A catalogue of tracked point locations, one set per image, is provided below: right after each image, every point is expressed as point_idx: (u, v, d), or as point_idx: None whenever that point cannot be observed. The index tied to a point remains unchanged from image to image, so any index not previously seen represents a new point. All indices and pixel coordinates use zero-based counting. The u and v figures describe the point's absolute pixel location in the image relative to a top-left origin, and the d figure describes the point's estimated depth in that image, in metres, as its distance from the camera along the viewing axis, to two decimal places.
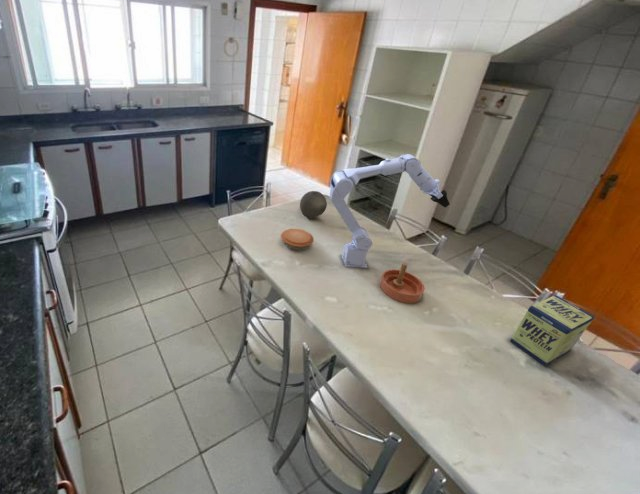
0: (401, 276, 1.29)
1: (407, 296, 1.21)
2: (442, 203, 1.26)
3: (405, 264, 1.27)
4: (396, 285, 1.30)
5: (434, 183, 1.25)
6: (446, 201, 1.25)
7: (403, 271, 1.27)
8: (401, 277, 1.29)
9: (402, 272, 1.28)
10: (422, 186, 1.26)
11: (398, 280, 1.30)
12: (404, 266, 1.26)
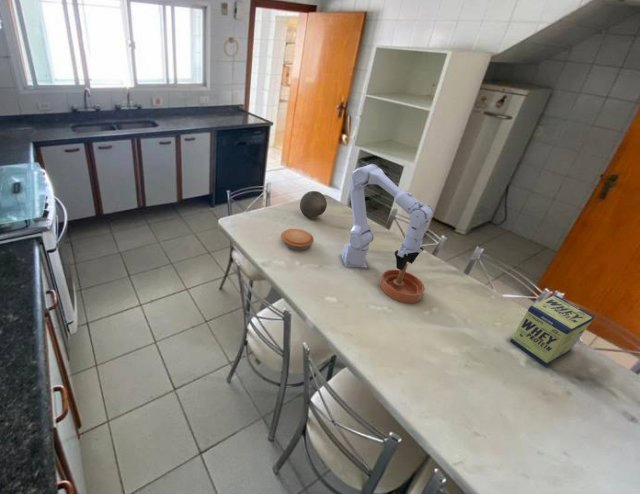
0: (401, 276, 1.29)
1: (407, 296, 1.21)
2: (398, 263, 1.24)
3: None
4: (396, 285, 1.30)
5: (414, 247, 1.20)
6: (401, 265, 1.23)
7: (403, 271, 1.27)
8: (401, 277, 1.29)
9: (402, 272, 1.28)
10: (405, 238, 1.22)
11: (398, 280, 1.30)
12: None
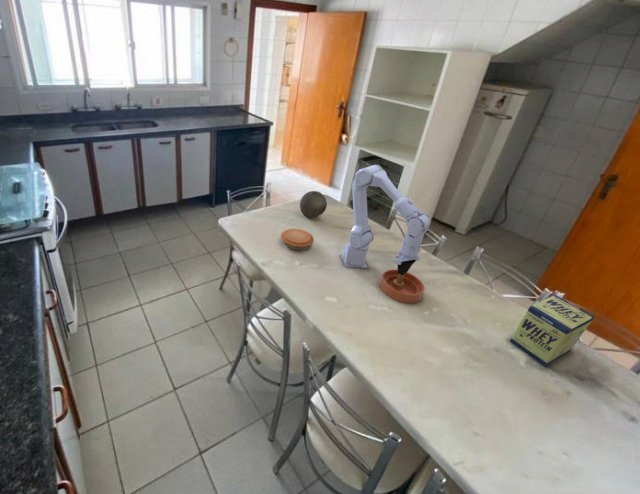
0: (401, 276, 1.29)
1: (407, 296, 1.21)
2: (399, 268, 1.27)
3: None
4: (396, 285, 1.30)
5: (411, 255, 1.22)
6: (403, 270, 1.26)
7: None
8: (401, 277, 1.29)
9: None
10: (403, 245, 1.24)
11: (398, 280, 1.30)
12: None
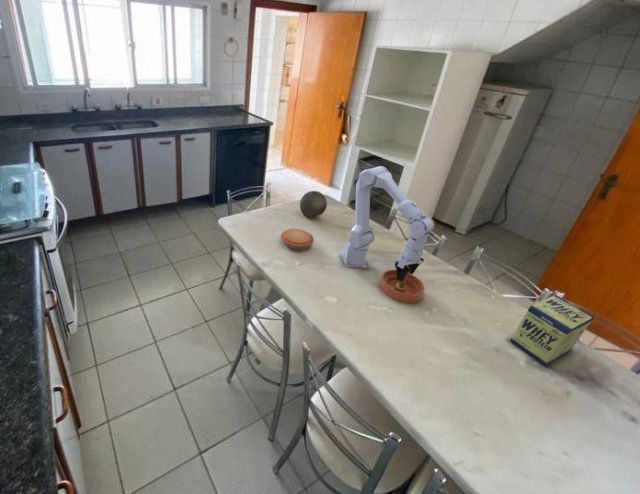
0: (404, 280, 1.26)
1: (407, 296, 1.21)
2: (398, 274, 1.23)
3: None
4: (398, 289, 1.28)
5: (414, 258, 1.19)
6: (402, 277, 1.23)
7: (406, 275, 1.25)
8: (403, 282, 1.27)
9: (405, 276, 1.25)
10: (405, 249, 1.21)
11: (401, 284, 1.28)
12: None
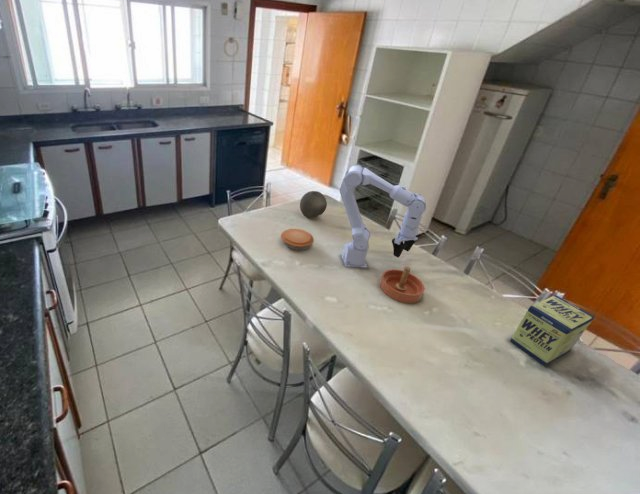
0: (404, 280, 1.26)
1: (407, 296, 1.21)
2: (395, 250, 1.32)
3: (408, 268, 1.24)
4: (398, 289, 1.28)
5: (410, 235, 1.28)
6: (398, 253, 1.31)
7: (406, 275, 1.25)
8: (403, 282, 1.27)
9: (405, 276, 1.25)
10: (402, 226, 1.30)
11: (401, 284, 1.28)
12: (407, 270, 1.24)
